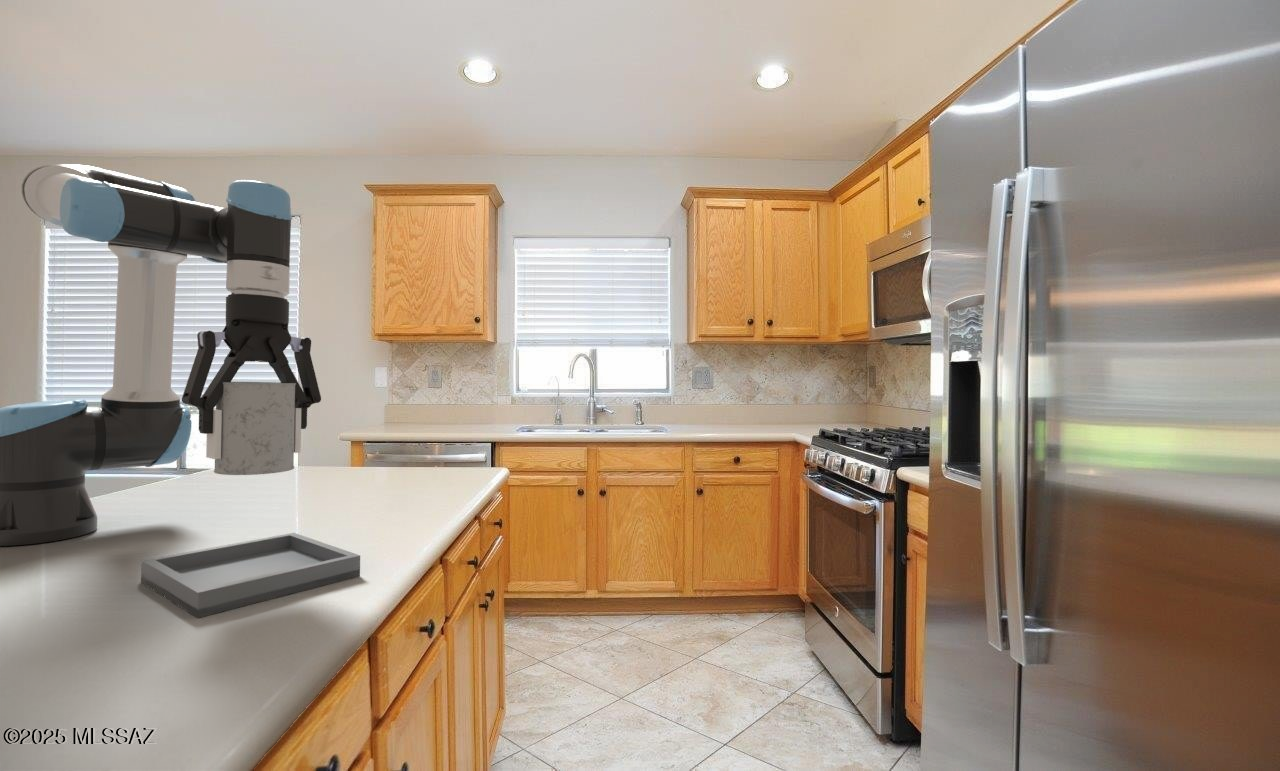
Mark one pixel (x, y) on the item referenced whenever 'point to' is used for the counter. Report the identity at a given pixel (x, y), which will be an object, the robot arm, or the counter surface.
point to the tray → (247, 572)
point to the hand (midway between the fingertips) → (255, 454)
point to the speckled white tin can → (256, 428)
